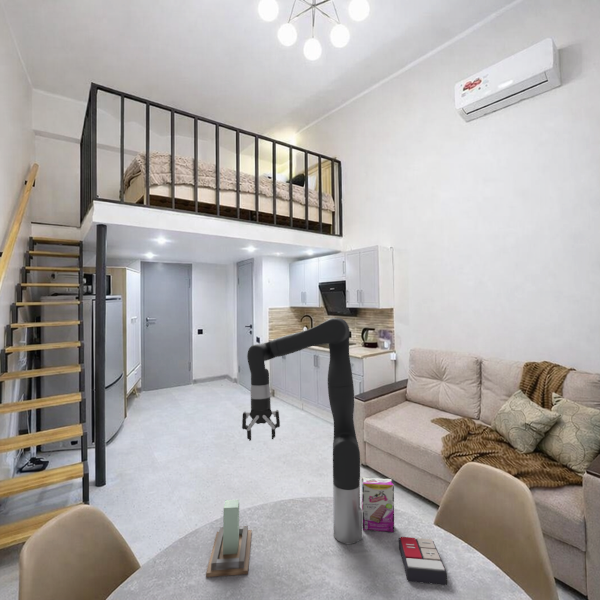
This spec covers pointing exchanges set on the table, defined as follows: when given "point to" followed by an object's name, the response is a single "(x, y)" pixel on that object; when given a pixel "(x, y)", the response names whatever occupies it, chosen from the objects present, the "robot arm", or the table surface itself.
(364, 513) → the candy bar box
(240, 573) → the track
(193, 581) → the table surface
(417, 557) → the calculator
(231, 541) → the pale green angular block
